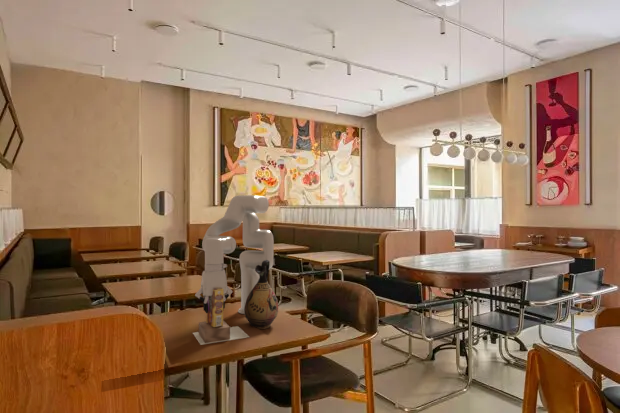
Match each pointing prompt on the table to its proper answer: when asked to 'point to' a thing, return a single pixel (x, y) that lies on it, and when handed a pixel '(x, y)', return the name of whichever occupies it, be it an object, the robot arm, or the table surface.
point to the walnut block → (214, 332)
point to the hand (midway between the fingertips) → (214, 310)
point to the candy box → (215, 308)
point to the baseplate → (234, 334)
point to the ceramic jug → (261, 300)
